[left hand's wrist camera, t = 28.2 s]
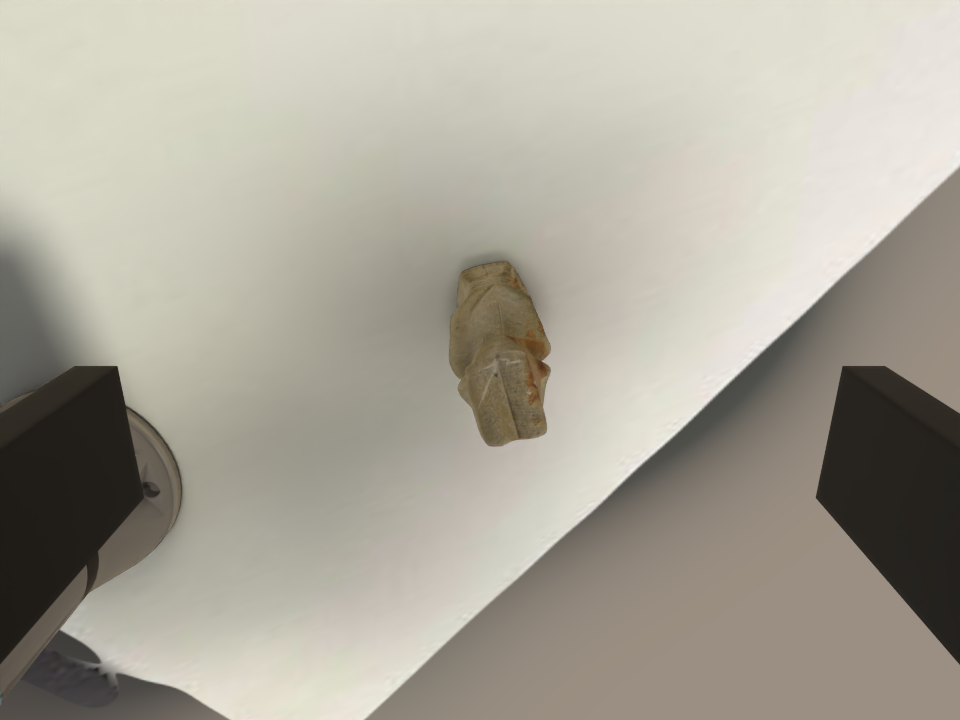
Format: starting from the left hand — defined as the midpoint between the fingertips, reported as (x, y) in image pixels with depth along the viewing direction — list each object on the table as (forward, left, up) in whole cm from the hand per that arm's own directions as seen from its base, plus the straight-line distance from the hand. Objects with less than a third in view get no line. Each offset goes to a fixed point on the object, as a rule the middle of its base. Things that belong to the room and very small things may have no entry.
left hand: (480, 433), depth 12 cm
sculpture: (-5, -5, -34) cm, 35 cm away
